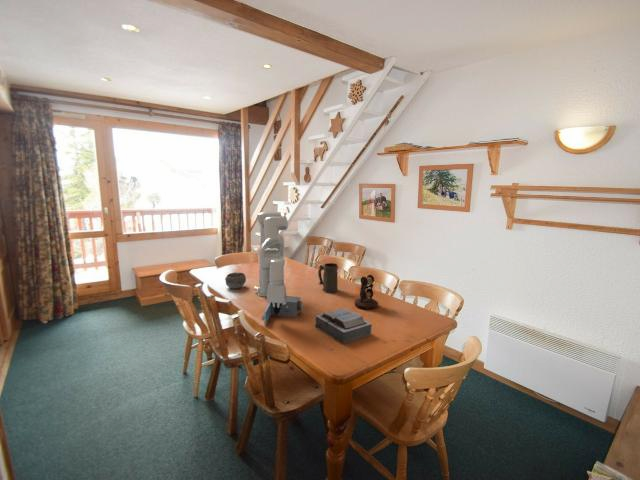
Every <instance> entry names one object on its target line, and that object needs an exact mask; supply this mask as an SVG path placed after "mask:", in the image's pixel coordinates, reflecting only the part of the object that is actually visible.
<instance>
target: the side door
mask: <svg viewBox="0 0 640 480" xmlns="http://www.w3.org/2000/svg"><path fill="white" fill-rule="evenodd" d="M263 313H264V314H263V315H262V316H261V321H263V322H264V324H263V325H267V322H268V320H269V319H270V317H271V316H272V315H271V303H268V305H267V306H266V308H265V310H264V311H263Z"/></svg>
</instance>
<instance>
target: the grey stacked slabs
mask: <svg viewBox="0 0 640 480" xmlns="http://www.w3.org/2000/svg"><path fill="white" fill-rule="evenodd" d="M372 326H373V324H372V323H371V322H369V321H367V320H365V319H364V317H363V315H361V314H359V313H358V312H351V310H348V309H346V308H344V307H342V308H339V309H335V310H333V311H329V312H323V313H322V314H317V315H315V324H314V327H315V328H317V329H319V330H321V331H322V332H323V333H325V334H327V335H328V336H329V337H331V338H332V339H334V340H335V341H337V342H338V343H341V344H343V345H346V344H348V343H351V342H355V341H357V340H360V339H363V338H366V337H369V336H371V335H372Z"/></svg>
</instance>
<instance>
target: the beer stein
mask: <svg viewBox="0 0 640 480" xmlns="http://www.w3.org/2000/svg"><path fill="white" fill-rule="evenodd" d="M338 268H339V266H338V264H337V263H332V262H328V263H325V264H324V266H323V265H322V264H321V265H319V269H318V273H317V275H318V279H319V283H318V284H319V285H320V286H321V285H322V287H323V288H322V291H323V292H324V293H328V294H334V293H338V282H339V281H338V273H339V272H338ZM322 270H323V274H322ZM322 275H323V276H322Z"/></svg>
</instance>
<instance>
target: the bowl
mask: <svg viewBox="0 0 640 480" xmlns="http://www.w3.org/2000/svg"><path fill="white" fill-rule="evenodd" d="M224 279H225V285H226V286H227V287H228V288H229V289H234V290H236V289H239V288H242V287H243V286H244V285H245V283H246V281H247V277H246V275H245V273H244V272H237V271H236V272H231V273H228V274H226V276H225V278H224Z"/></svg>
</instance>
